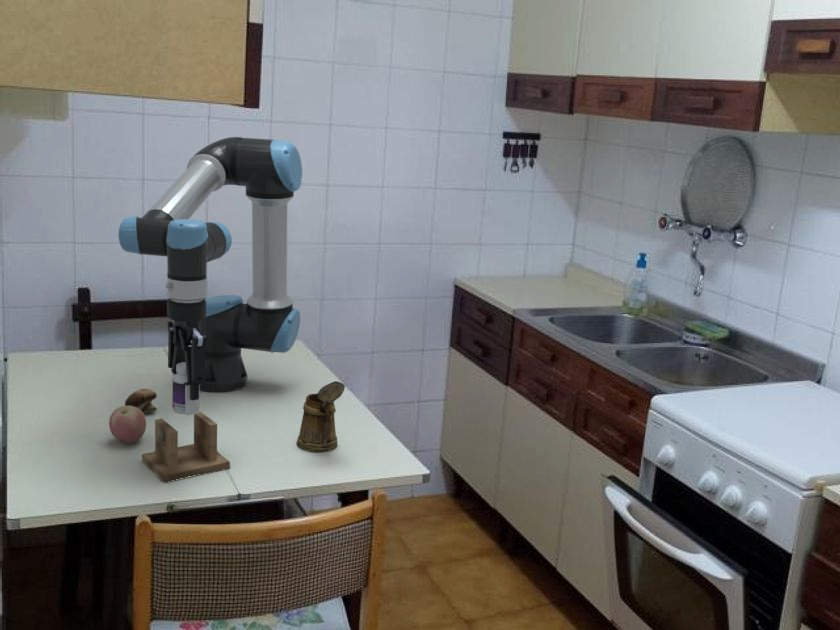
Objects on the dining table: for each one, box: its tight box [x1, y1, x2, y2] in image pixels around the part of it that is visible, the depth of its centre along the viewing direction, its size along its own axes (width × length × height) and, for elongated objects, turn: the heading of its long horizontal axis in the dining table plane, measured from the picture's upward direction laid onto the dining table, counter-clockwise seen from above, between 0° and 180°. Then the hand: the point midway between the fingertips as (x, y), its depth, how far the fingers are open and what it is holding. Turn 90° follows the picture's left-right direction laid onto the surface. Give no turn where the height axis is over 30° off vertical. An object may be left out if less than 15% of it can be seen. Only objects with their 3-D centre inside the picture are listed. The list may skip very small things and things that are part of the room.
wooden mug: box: [296, 380, 346, 453], centre depth 195 cm, size 9×14×18 cm, turn 27°
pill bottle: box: [171, 362, 201, 415], centre depth 180 cm, size 5×5×10 cm
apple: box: [108, 405, 147, 445], centre depth 193 cm, size 8×8×8 cm
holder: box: [141, 411, 231, 483], centre depth 183 cm, size 12×14×10 cm
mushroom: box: [124, 388, 157, 414], centre depth 211 cm, size 8×8×6 cm
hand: (186, 408), depth 181 cm, fingers closed on pill bottle, 5 cm apart
